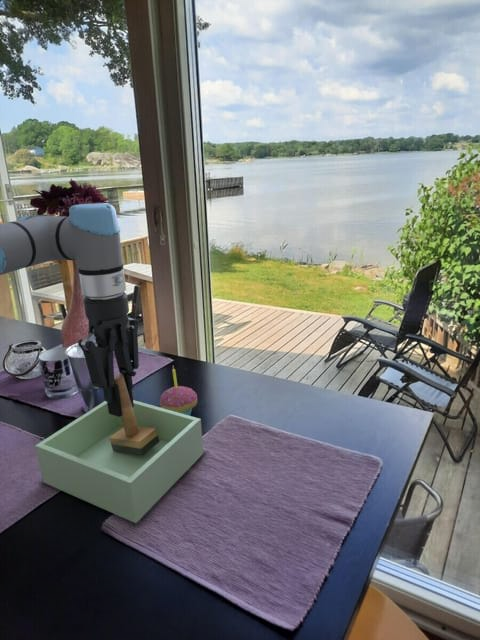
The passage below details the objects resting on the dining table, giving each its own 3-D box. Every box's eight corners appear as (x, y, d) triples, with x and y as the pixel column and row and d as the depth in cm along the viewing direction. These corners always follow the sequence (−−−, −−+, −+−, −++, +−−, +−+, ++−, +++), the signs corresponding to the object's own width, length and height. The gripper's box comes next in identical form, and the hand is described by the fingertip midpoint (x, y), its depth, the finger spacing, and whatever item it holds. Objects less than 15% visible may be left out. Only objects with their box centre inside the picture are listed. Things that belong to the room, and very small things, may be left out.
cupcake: (156, 413, 102) (151, 366, 98) (190, 403, 105) (187, 358, 101) (168, 431, 95) (163, 382, 91) (204, 420, 98) (201, 372, 94)
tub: (43, 482, 81) (35, 445, 78) (119, 426, 97) (114, 394, 94) (136, 523, 71) (130, 483, 68) (203, 453, 87) (200, 418, 84)
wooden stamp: (113, 451, 87) (91, 381, 83) (130, 437, 91) (110, 370, 87) (143, 455, 83) (122, 383, 79) (159, 441, 87) (140, 371, 83)
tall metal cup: (111, 421, 99) (92, 293, 89) (65, 418, 101) (41, 293, 91) (130, 397, 109) (115, 280, 99) (88, 395, 111) (68, 279, 101)
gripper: (86, 309, 70) (106, 436, 77) (150, 285, 82) (161, 396, 90) (53, 304, 73) (76, 426, 81) (119, 281, 86) (133, 388, 94)
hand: (121, 410), depth 86 cm, fingers closed on wooden stamp, 3 cm apart
